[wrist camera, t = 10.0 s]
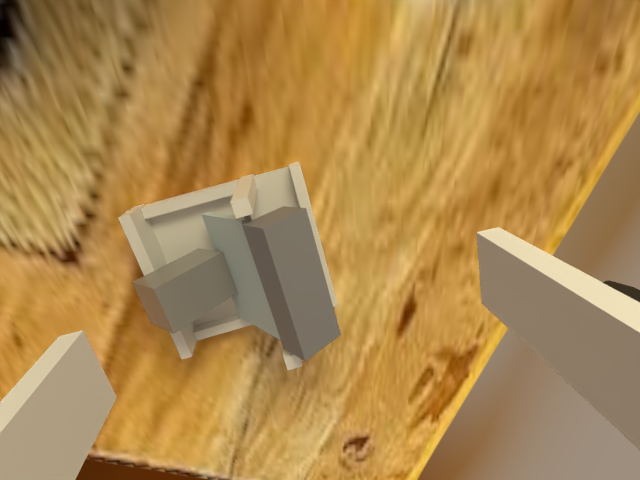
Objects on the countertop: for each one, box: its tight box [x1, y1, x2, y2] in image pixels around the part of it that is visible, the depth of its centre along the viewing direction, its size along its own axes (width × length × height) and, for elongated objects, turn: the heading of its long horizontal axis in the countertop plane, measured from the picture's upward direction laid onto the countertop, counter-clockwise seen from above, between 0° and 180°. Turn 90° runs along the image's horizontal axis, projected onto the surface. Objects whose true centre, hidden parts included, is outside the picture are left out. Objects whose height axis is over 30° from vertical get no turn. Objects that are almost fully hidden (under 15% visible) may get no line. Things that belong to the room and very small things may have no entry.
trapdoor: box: [201, 206, 341, 361], centre depth 40 cm, size 13×14×4 cm
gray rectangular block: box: [132, 248, 238, 334], centre depth 41 cm, size 5×5×8 cm
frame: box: [118, 162, 338, 370], centre depth 41 cm, size 18×20×12 cm
